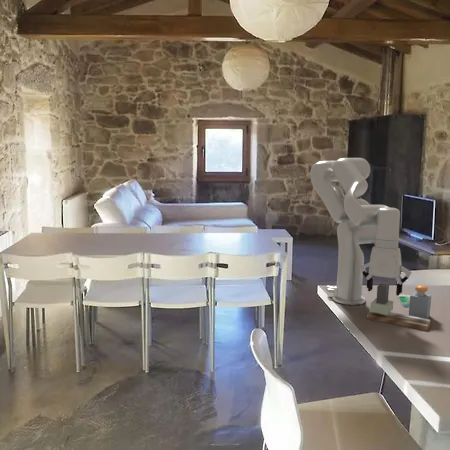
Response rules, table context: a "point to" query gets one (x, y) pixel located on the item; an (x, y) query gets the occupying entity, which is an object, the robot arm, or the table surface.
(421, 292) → the plunger
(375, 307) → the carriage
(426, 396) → the table surface
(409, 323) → the rail board
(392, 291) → the table surface
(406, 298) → the smartphone
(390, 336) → the table surface
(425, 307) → the cabinet
